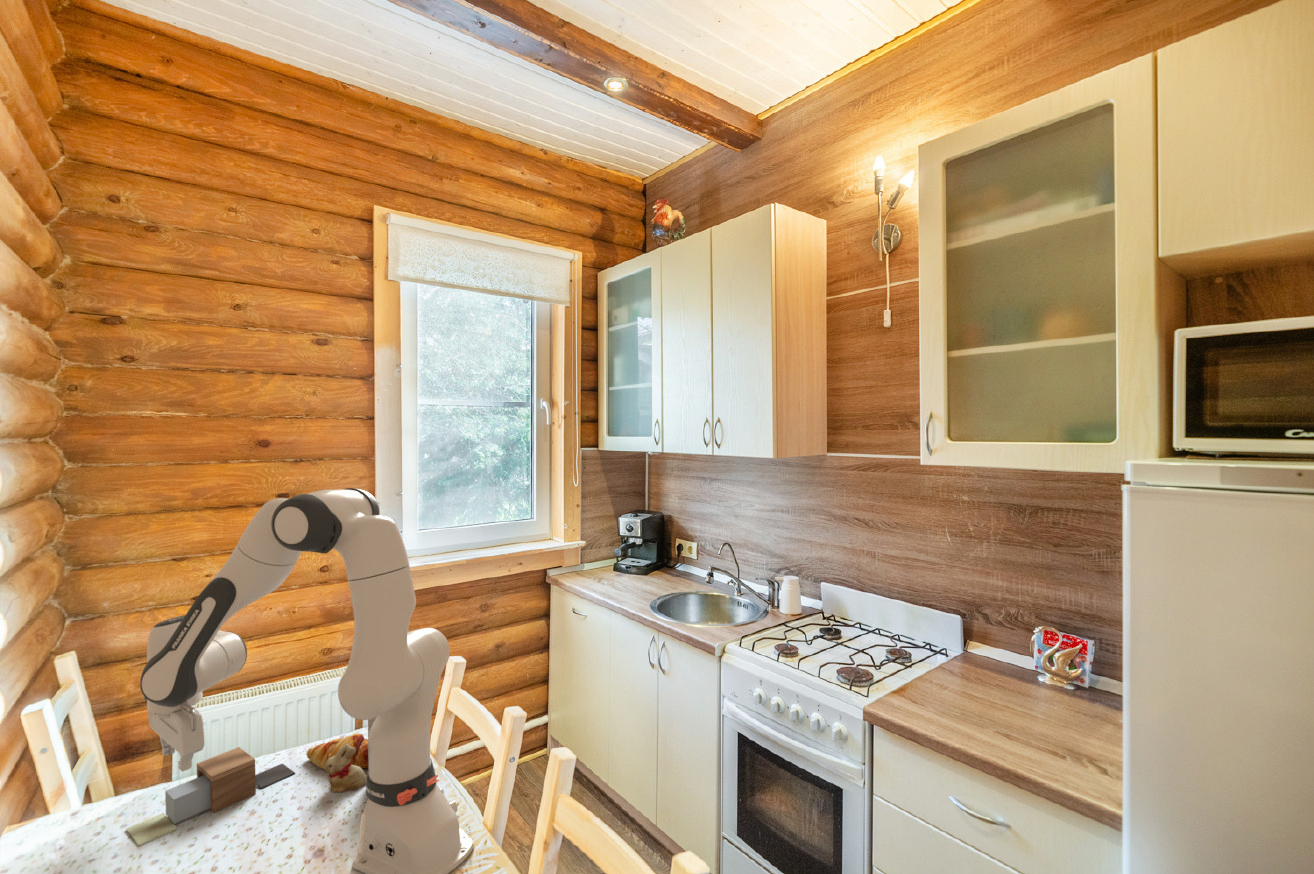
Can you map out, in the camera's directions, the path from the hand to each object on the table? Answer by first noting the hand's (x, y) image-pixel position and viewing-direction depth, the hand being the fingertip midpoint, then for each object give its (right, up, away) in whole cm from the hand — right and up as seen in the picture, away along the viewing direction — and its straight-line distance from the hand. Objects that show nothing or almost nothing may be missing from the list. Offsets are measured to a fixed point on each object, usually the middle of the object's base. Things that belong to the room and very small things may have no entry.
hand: (176, 761), depth 124 cm
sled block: (+2, -12, +3) cm, 12 cm away
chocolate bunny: (+30, -12, +11) cm, 34 cm away
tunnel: (+5, -12, +6) cm, 14 cm away
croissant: (+25, -12, +20) cm, 34 cm away
